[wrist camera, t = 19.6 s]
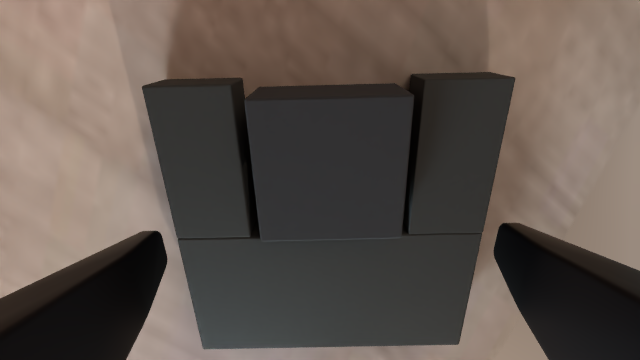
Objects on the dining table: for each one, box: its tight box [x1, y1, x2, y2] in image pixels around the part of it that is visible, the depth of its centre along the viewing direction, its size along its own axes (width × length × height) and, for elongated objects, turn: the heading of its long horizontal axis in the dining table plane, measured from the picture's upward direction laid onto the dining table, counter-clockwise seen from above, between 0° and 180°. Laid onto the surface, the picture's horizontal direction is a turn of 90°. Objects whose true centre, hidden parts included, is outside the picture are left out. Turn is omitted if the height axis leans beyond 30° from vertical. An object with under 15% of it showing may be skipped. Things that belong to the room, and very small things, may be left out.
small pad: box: [244, 83, 414, 241], centre depth 14 cm, size 6×6×3 cm
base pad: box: [142, 72, 515, 349], centre depth 16 cm, size 14×14×2 cm
